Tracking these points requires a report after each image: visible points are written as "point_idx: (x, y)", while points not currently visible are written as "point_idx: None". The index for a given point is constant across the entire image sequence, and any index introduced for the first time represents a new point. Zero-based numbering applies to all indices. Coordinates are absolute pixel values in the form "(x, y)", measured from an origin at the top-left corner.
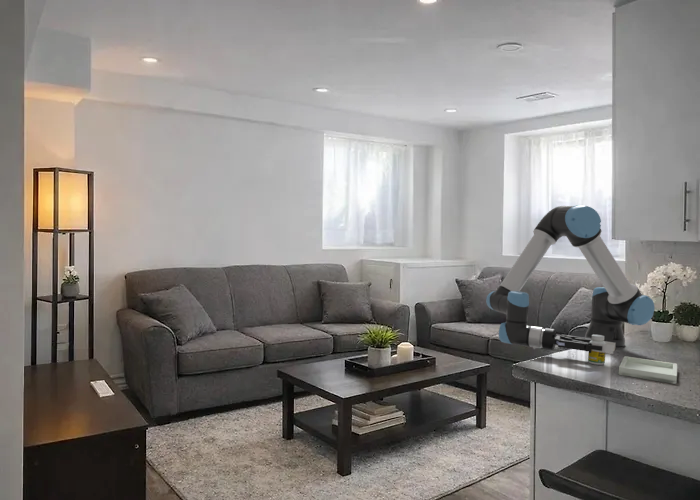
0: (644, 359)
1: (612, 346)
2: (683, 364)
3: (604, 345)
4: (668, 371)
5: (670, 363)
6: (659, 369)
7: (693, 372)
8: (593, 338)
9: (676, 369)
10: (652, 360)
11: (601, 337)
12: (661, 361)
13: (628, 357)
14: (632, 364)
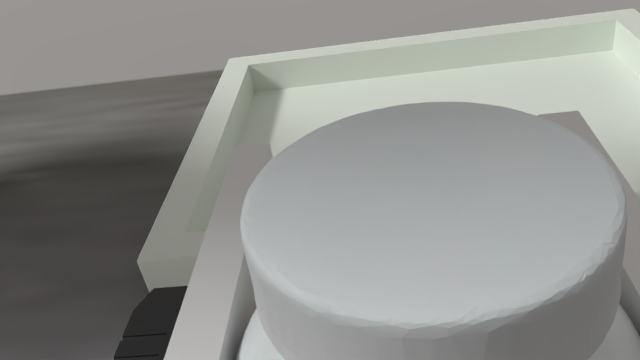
0: (208, 151)
1: (583, 128)
2: (16, 114)
3: (628, 205)
4: (379, 87)
5: (245, 70)
6: (361, 112)
7: (215, 72)
8: (607, 318)
9: (422, 35)
10: (212, 123)
11: (537, 131)
12: (213, 96)
13: (186, 230)
14: None
